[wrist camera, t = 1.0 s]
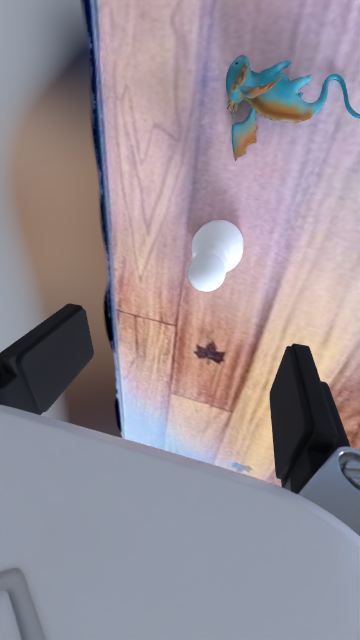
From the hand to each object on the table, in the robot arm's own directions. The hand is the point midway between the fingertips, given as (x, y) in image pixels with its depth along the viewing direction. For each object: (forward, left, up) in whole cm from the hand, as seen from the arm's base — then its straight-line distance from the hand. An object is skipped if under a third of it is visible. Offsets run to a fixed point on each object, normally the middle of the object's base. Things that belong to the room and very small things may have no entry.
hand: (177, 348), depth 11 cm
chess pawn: (0, 0, -17) cm, 17 cm away
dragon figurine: (-11, +3, -17) cm, 20 cm away
